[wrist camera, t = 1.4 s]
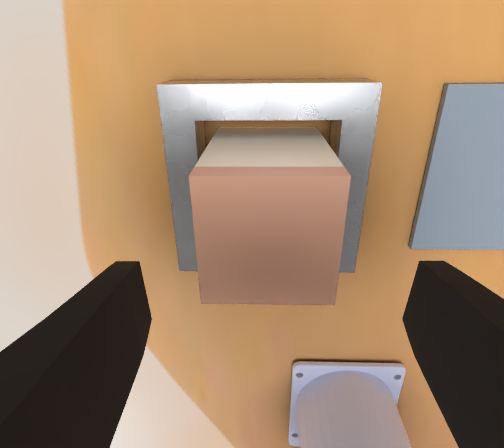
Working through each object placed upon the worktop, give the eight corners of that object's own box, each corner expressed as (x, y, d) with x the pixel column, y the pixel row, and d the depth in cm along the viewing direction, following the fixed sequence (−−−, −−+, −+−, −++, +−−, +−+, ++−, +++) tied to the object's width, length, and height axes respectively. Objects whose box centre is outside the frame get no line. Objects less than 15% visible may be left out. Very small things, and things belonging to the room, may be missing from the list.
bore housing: (344, 248, 21) (354, 272, 19) (188, 247, 21) (179, 270, 19) (366, 78, 17) (382, 82, 14) (170, 80, 17) (156, 84, 15)
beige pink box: (309, 214, 20) (335, 305, 13) (223, 214, 20) (200, 303, 13) (315, 126, 18) (350, 176, 11) (219, 126, 18) (188, 176, 11)
